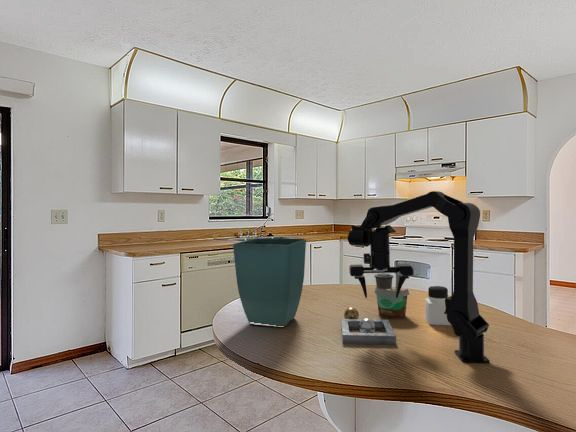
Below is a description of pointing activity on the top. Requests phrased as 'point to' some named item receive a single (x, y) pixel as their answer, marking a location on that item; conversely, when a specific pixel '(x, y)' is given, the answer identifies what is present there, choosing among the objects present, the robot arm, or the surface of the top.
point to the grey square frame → (367, 338)
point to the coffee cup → (384, 281)
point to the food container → (391, 303)
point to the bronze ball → (351, 313)
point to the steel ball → (367, 326)
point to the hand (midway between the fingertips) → (381, 297)
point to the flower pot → (270, 278)
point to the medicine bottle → (436, 306)
